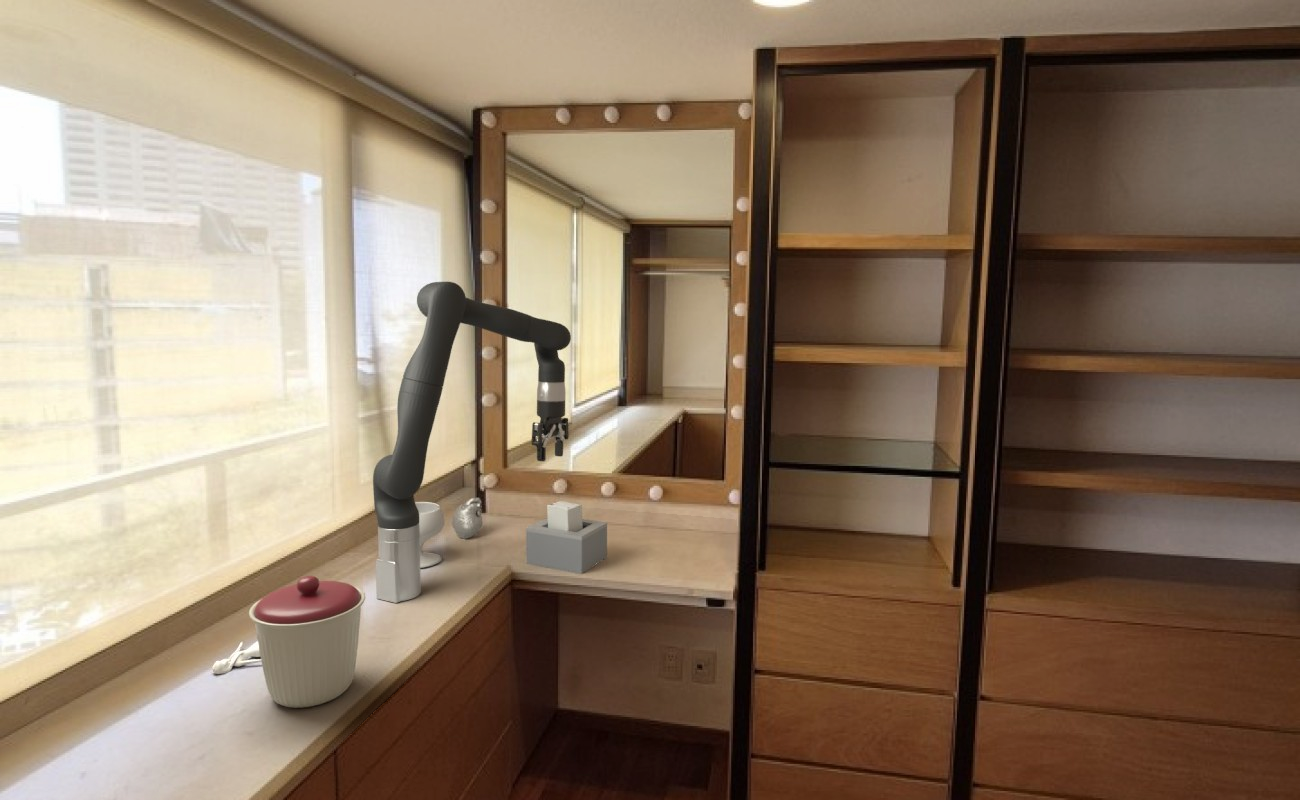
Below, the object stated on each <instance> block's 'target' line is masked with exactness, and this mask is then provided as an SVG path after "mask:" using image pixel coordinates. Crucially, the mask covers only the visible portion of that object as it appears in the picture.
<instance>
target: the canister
mask: <svg viewBox="0 0 1300 800" xmlns="http://www.w3.org/2000/svg"><path fill="white" fill-rule="evenodd" d="M365 600H366V593H365V592H364V591H363V589H361V588H359V587H358V586H354V585H351V584H350V583H347V582H343V581H336V580H319V578H317V577H316V576H314V575H305V576H302V577H300V579H298V580H297V583H295V584H291V585H288V586H285V587H281V588H279V589H277V590H274V591H271V592H270V593H268V594H266V595H265V596H263V597H262V598H260V599H259V600H257V601H255V603H254V604H253V605H251V607H250V609H249V611H248V617H249V618H250V620H251V621H253V623H254V626H255V633H256V639H257V641H258V645H259V650H260V656H261V657H260V659H261V661H262V662H261V667H262V670H263V675H264V679H265V684H266V688H267V691H268V694H269V695H270V697H271V699H272V700H273V701H274V702H275V703H276V704H279V705H281V706H284V707H287V708H295V709H297V708H301V709H303V708H311V707H315V706H319V705H322V704H325V703H327V702H330V701H333V700H334V699H336V698H338V697H340V696H341V695H342V694H343V693H345V691H347V690H348V688H349V687H350V685H352V683H353V679H354V678H355V672H356V664H357V656H358V648H359V646H358V645H359V636H360V627H361V626H360V623H361V613H362V612H361V611H362V605H363V604H364V603H365Z"/></svg>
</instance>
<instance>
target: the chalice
mask: <svg viewBox="0 0 1300 800" xmlns="http://www.w3.org/2000/svg"><path fill="white" fill-rule="evenodd" d="M415 504H416V507H417V509H418V511H419V528H420V569H422V568H428V567H432V566H435V565H437V564H439V563H440V562H441V561H442V560H443V559H442V556H441V555H439V554H437V553H434V552H425V551H424V552H423V550H422V548H423V546H424V544H425V543H426V542H427V541H429V540H430V539H432V538H433V537H435V536H437V535H438V534H440V533H441V531H442V530H443V529H444V527H445V517H444V513H443V510H442V507H441V506H440V505H439V504H437V503H434V502H431V501H430V502H429V501H415Z"/></svg>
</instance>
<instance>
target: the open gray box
mask: <svg viewBox="0 0 1300 800" xmlns="http://www.w3.org/2000/svg"><path fill="white" fill-rule="evenodd" d="M582 524H583V529H582V530H580V531H578V532H572V531H565V530H559V529H553V528H548V517H546V518H544V519H541V520H539V521H537V522H536V523H533V524H531V525H528V526H527V527H526V528H525V529H526V530H525V533H526V534H525V535H526V537H525V538H526V544H525V545H526V549H525V550H526V551H525V553H526V554H525V555H526V558H525V560H526V563H527V565H532V566H537V567H543V568H547V569H553V570H558V571H563V572H568V573H569V572H570V573H574V574H579V575H583V574H584V573H586V572H587V571H588V570H590V569H591V567H592V566H593V567H595V566H596V565H597V564H596V563H598V562H599V563H601V562H602V561H604V560H605V559H607V558H606V557H608V556H607V555H608V522H606V521H599V520H593V519H588V518H582ZM604 558H605V559H604ZM603 559H604V560H603ZM601 560H602V561H601ZM600 561H601V562H600ZM599 563H598V564H599ZM595 564H596V565H595ZM594 565H595V566H594ZM593 567H592V568H593ZM589 568H590V569H589Z"/></svg>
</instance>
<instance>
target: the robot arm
mask: <svg viewBox="0 0 1300 800" xmlns="http://www.w3.org/2000/svg"><path fill="white" fill-rule="evenodd" d="M416 295H417V297H416V304H417V308H418V309H419V311H420V313H421V314H422V315H423V316H424V317H426V321H425V327H424V331H423V334H422V337H421V339H420V342H419V344H418V346H417V347H416V349H415V351H414V352H413V354H412V356H411V357H410V360H409V361H408V362H407V363H408V364H407V365H406V367H405V370H404V372H403V376H402V379H401V383H400V387H399V391H398V395H397V396H398V397H397V405H396V406H397V436H396V441H395V444H394V449H393V452H392V454H389V455H385V456H384V457H382V458H381V459H380V460H378V462H377V463H376V465H375V467H374V469H373V476H372V486H373V488H372V489H373V501H374V503H373V505H374V512H375V516H376V518H377V519H376V520H377V538H378V539H377V544H378V547H377V548H378V558H376V559H375V582H376V584H375V585H376V599H377V600H378V599H379V600H383V601H387V602H391V603H394V604H397V603H399V602H404V601H408V600H412V599H415V598H416V597H419V596H420V595H421V592H422V585H421V584H422V578H421V568H420V528H419V511H418V509H417V507H416V504H415V502H416V501H415V496H414V495H416V494H417V493H418V491H419V490H420V488H421V486H422V484H423V481H424V476H425V475H424V474H425V469H426V461H427V453H428V447H429V441H430V437H431V434H432V430H433V427H434V423H435V419H436V415H437V412H438V407H439V405H440V404H439V403H440V400H441V396H442V392H443V388H444V384H445V379H446V376H447V370H448V366H449V362H450V359H451V354H452V350H453V345H454V343H455V342H454V341H455V339H456V336H457V333H458V330H459V328H460V325H461V324H464V325H469V326H472V327H476V328H479V329H482V330H485V331H487V332H491V333H494V334H497V335H500V336H503V337H505V338H506V337H507V338H510V339H513V340H517V341H520V342H524V343H533V345H534V351H535V355H536V356H535V357H536V360H537V363H538V364H537V365H538V374H537V377H538V378H537V387H536V388H537V389H536V416H537V417H539V419H540V420H539V422H534V421H533V422H532V426H531V427H532V428H531V429H532V430H531V446H535V447H536V459H537V460H536V461H538V462H545V461H546V459H547V458H546V455H547V453H546V452H547V450H546V449H547V448H546V446H547V444H548V441H550V440H551V438H553V439H554V440H555V442H554V456H556V457H563V456H564V443H565V442H566V440H568V439H569V436H570V435H569V418H568V417H565V416H566V395H567V394H566V393H567V392H566V391H567V390H566V382H565V381H566V378H565V377H566V365H565V362H564V361H563V360H562V359H560V357H559V351H561V350H564V349H566V348H567V347H568V346H570V345H569V344H570V343H571V339H572V335H571V331H570V330H569V328H568V327H567V326H565V325H563V324H561V323H560V322H559V323H558V322H556V321H551V320H548V319H544V318H538V317H536V316H532V315H529V314H528V313H524V312H522V311H518V310H514V309H512V308H508V307H503V306H500V305H495V304H490V303H485V302H481V301H479V300H478V301H477V300H474V299H471V298H470V297H469V298H468V297H466V293H465V291H464V290H463V288H462V286H460V285H459V284H458V283H455V282H454V281H435V282H430V283H427V284H425V285H424V286H423V287H421V288H420V290H419V292H418V293H417V294H416Z"/></svg>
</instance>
